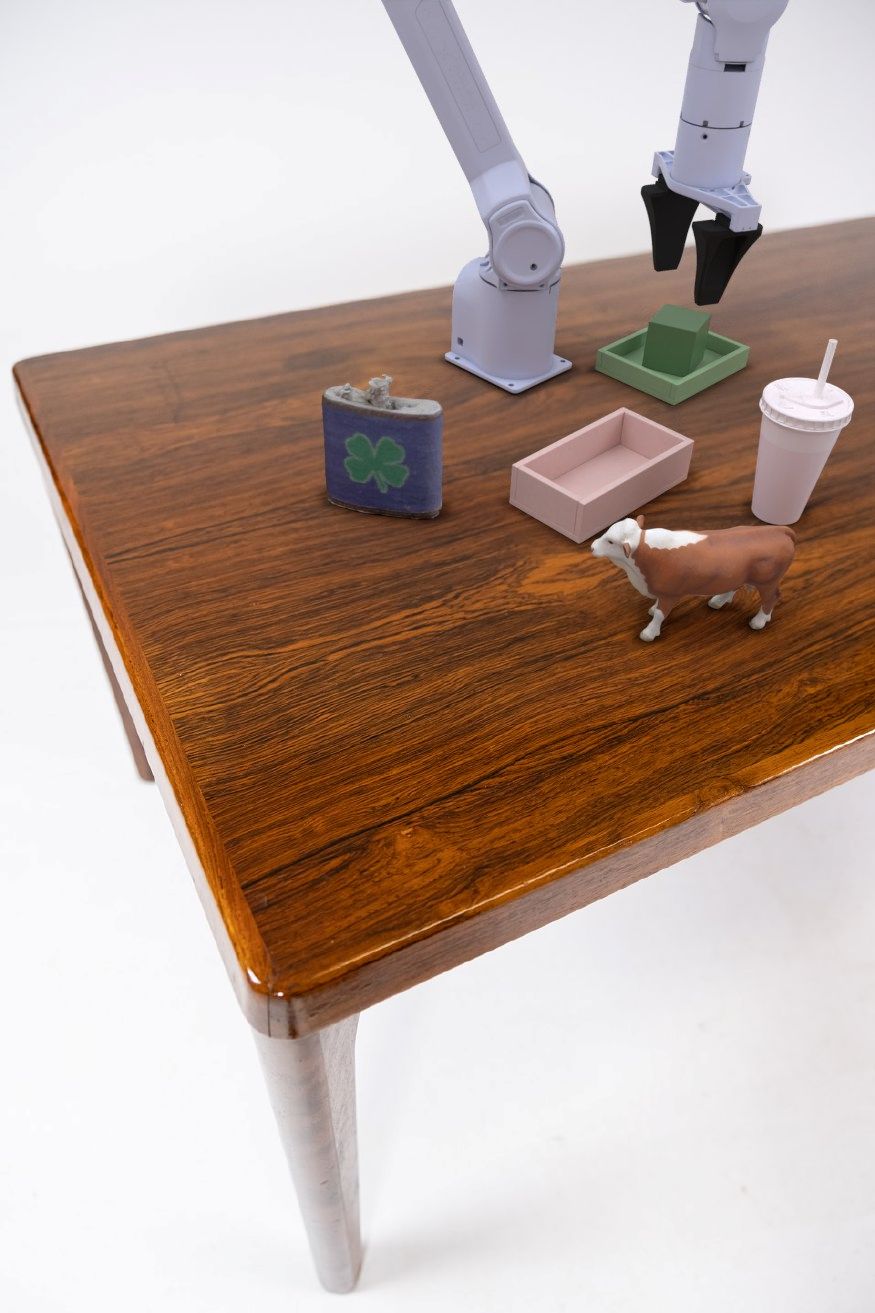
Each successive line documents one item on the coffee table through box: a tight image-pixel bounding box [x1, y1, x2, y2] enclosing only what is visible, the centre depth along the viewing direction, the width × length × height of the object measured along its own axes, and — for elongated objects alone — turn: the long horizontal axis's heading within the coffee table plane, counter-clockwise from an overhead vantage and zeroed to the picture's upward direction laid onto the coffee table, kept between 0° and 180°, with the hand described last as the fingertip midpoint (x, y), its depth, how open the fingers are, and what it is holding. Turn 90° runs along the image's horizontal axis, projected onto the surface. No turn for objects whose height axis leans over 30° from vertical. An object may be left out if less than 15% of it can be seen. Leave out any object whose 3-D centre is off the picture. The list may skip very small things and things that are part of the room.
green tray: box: [594, 326, 751, 406], centre depth 95 cm, size 9×11×2 cm
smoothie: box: [750, 338, 855, 526], centre depth 74 cm, size 6×6×14 cm
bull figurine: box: [590, 514, 798, 642], centre depth 66 cm, size 4×13×8 cm, turn 95°
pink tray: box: [508, 406, 695, 545], centre depth 79 cm, size 7×13×4 cm, turn 133°
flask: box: [321, 373, 445, 520], centre depth 75 cm, size 9×3×11 cm, turn 74°
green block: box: [642, 303, 713, 377], centre depth 94 cm, size 4×4×4 cm
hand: (685, 285), depth 90 cm, fingers open, 7 cm apart
